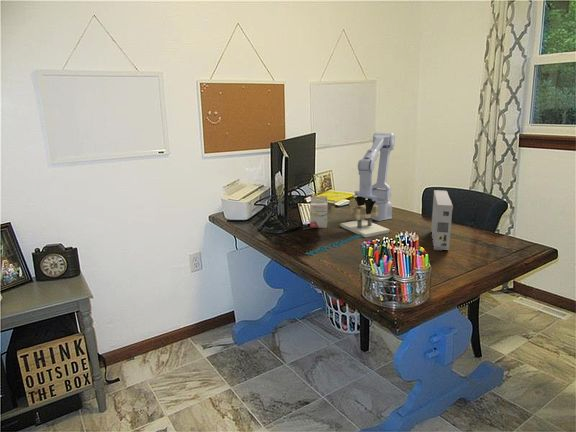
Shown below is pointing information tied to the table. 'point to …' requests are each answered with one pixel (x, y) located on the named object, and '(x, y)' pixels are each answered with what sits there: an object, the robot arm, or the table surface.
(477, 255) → the table surface
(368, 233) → the pin board
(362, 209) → the block
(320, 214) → the ink cartridge box
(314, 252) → the nameplate
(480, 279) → the table surface
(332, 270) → the table surface
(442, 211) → the game console
